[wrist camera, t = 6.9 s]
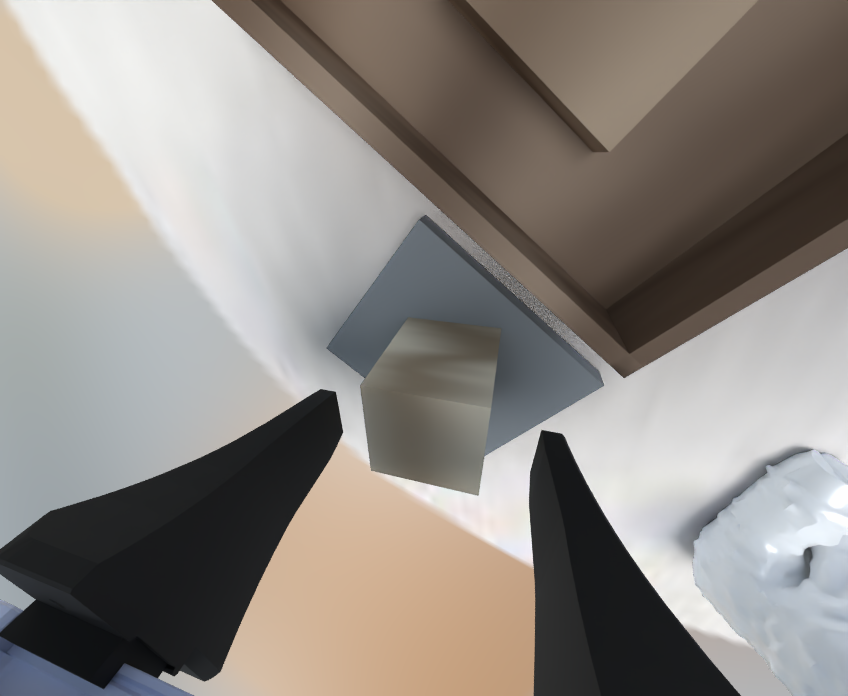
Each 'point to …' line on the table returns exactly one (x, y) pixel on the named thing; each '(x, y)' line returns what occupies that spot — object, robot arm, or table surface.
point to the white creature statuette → (785, 571)
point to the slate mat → (475, 305)
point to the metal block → (432, 403)
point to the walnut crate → (600, 141)
